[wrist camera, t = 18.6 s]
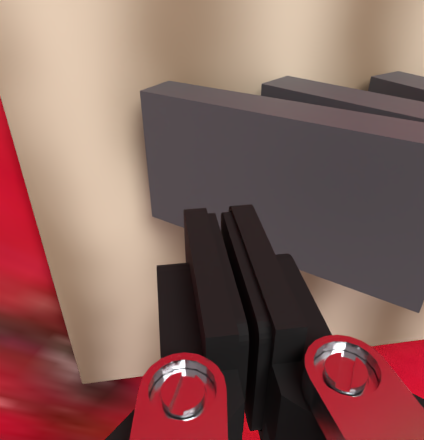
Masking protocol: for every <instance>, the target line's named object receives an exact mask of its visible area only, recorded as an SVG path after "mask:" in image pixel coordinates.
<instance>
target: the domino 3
mask: <svg viewBox="0 0 424 440" xmlns="http://www.w3.org/2000/svg"><path fill="white" fill-rule="evenodd" d="M368 91H369V92H375V93H380V94H385V95H390V96H395V97H400V98H406V99H411V100H416V101H421V102H424V77H423V76H418V75H414V74H409V73H405V72H401V71H396V72H391V73H386V74H381V75H376V76H371V79H370V84H369V89H368Z"/></svg>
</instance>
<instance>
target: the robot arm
mask: <svg viewBox="0 0 424 440" xmlns="http://www.w3.org/2000/svg"><path fill="white" fill-rule="evenodd" d="M183 214H184V237H185V258H186V263H178V264H167V265H157V267H156V268H157V291H158V312H159V334H160V356H161V359H160V360H158V361H157V362H156V363H154V364H153V365H152V366H150V368H149V369H148V370H147V371H146V373H145V374H144V375H143V377H142V380H141V383H140V386H139V389H138V395H137V400H136V406H135V409H134V410H133V411H132V412H131V413H130V414H129V416H128V417H127V418H126V419H125V420H124V421H123V422H122V423H121V424H120V425H119V426H118V427H117V428H116V429H115V430H114V431H113V432H112V433H111V434H110V435H109V436H108V437H107V438H106V439H105V440H242V432H243V424H244V410H245V414H246V419H247V423H248V427H249V429H250V431H254V430H258V431H259V435H260V439H261V440H424V399H422V398H420V397H418V396H416V395H415V394H413V393H411V392H410V391H409V389H408V388H407V387H406V386H405V384H404V383H403V382H402V381H401V379H400V378H399V377H398V376H397V374H396V373H395V372H394V371H393V369H392V368H391V367H390V366H389V364H388V363H387V362H386V361H385V359H384V358H383V357H382V356H381V355H380V354H379V353H378V352H377V351H376V350H375V349H374V348H373V347H371V346H369V345H368V344H366V343H365V342H363V341H361V340H358V339H356V338H353V337H350V336H344V335H332V334H331V332H330V330H329V328H328V326H327V324H326V322H325V320H324V318H323V316H322V314H321V312H320V310H319V308H318V306H317V304H316V302H315V300H314V298H313V296H312V294H311V292H310V290H309V288H308V286H307V284H306V282H305V281H304V279H303V277H302V275H301V273H300V271H299V269H298V267H297V265H296V263H295V261H294V259H293V257H292V256H291V255H290V254H277V255H275V253H274V250H273V248H272V246H271V244H270V242H269V239H268V237H267V235H266V233H265V231H264V228H263V226H262V224H261V222H260V220H259V217H258V215H257V213H256V211H255V209H254V206H253V205H252V204H248V205H235V206H230V207H229V211H228V212H222V213H221V231H220V227H219V224H218V220H217V217H216V214H215V213H207V209H206V208H195V209H184V212H183Z"/></svg>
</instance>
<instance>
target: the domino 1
mask: <svg viewBox="0 0 424 440" xmlns="http://www.w3.org/2000/svg"><path fill="white" fill-rule="evenodd" d="M261 96H266V97H272V98H278V99H284V100H290V101H296V102H302V103H308V104H314V105H320V106H327V107H333V108H339V109H345V110H351V111H357V112H363V113H369V114H375V115H381V116H387V117H394V118H400V119H406V120H412V121H418V122H424V102H421V101H416V100H411V99H406V98H400V97H395V96H390V95H385V94H380V93H375V92H369V91H364V90H359V89H354V88H349V87H344V86H338V85H333V84H328V83H323V82H318V81H313V80H307V79H302V78H297V77H292V76H285V77H281V78H278V79H275V80H272V81H269V82H265V83H262V85H261Z"/></svg>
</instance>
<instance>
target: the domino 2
mask: <svg viewBox="0 0 424 440" xmlns="http://www.w3.org/2000/svg"><path fill="white" fill-rule="evenodd" d="M140 99H141V109H142V119H143V129H144V139H145V149H146V159H147V169H148V179H149V189H150V200H151V210H152V217H155V218H158V219H160V220H163V221H166V222H169V223H171V224H174V225H177V226H180V227H183V228H184V214H183V212H184V209H195V208H206V209H207V213H215V214H216V217H217V220H218V224H219V227H220V231H221V213H222V212H228V211H229V207H230V206H235V205H248V204H252V205H253V206H254V209H255V211H256V213H257V215H258V217H259V220H260V222H261V224H262V226H263V228H264V231H265V233H266V235H267V237H268V239H269V242H270V244H271V246H272V248H273V250H274V253H275V255H277V254H290V255H291V256H292V257H293V259H294V261H295V263H296V265H297V267H298V269H299V270H301V271H304V272H306V273H309V274H312V275H315V276H317V277H320V278H323V279H326V280H328V281H331V282H334V283H337V284H340V285H342V286H345V287H348V288H351V289H353V290H356V291H359V292H362V293H364V294H367V295H370V296H373V297H375V298H378V299H381V300H384V301H386V302H389V303H392V304H395V305H397V306H400V307H403V308H406V309H408V310H411V311H414V312H417V313H419V312H420V309H421V307H422V304H423V302H424V122H418V121H412V120H406V119H400V118H394V117H387V116H381V115H375V114H369V113H363V112H357V111H351V110H345V109H339V108H333V107H327V106H320V105H314V104H308V103H302V102H296V101H290V100H284V99H278V98H272V97H266V96H260V95H253V94H247V93H241V92H235V91H229V90H223V89H217V88H211V87H205V86H199V85H193V84H186V83H180V82H174V81H166V82H163V83H160V84H158V85H155V86H152V87H149V88H146V89H143V90H141V91H140Z"/></svg>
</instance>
